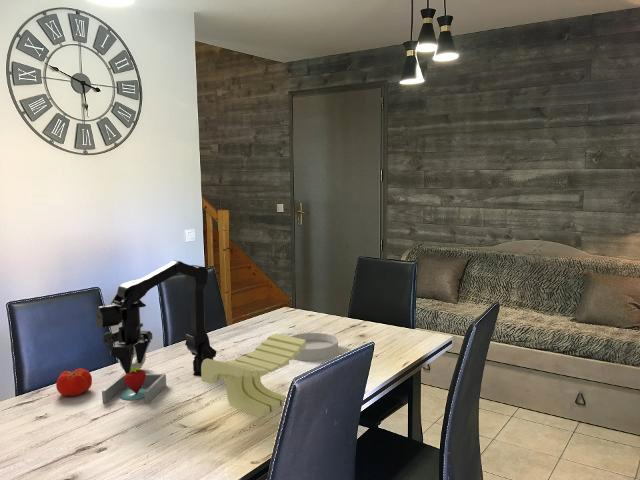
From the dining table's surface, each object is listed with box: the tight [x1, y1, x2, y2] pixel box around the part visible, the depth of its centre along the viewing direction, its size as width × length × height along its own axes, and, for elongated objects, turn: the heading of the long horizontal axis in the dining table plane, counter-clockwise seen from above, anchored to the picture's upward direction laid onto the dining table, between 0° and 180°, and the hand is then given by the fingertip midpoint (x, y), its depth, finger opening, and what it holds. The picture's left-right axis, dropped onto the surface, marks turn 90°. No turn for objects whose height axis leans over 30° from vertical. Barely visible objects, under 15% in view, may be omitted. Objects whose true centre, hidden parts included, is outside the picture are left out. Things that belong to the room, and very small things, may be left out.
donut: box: [119, 347, 147, 371], centre depth 191 cm, size 10×4×10 cm, turn 138°
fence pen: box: [101, 373, 167, 405], centre depth 171 cm, size 15×15×4 cm
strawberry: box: [124, 362, 147, 393], centre depth 171 cm, size 6×8×10 cm
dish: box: [290, 332, 340, 362], centre depth 209 cm, size 22×22×5 cm
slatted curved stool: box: [200, 333, 306, 418], centre depth 161 cm, size 30×16×18 cm, turn 143°
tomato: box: [55, 368, 93, 397], centre depth 172 cm, size 11×11×8 cm
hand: (133, 368), depth 170 cm, fingers open, 9 cm apart
